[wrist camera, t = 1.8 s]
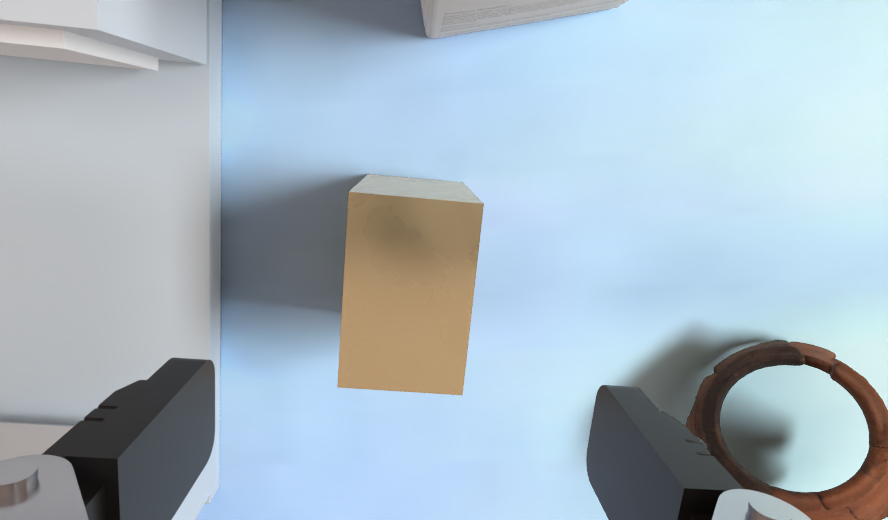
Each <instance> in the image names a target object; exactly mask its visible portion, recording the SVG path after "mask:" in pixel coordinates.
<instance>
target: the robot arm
mask: <svg viewBox="0 0 888 520" xmlns="http://www.w3.org/2000/svg"><path fill="white" fill-rule="evenodd" d="M214 438H215V367H214V364H213V362H212V360H206V359H190V358H174V357H173V358H170V359H169V360H168V361H167V362H166V363H165V364H164V365H163V366H162V367H160V368H159V369H158V370H157V371H156V372H155V373H154V374H153V375H152V376H151V377H150V378H149V379H147V380H138V381H136V382H134V383H132V384H129V385H127V386H125V387H123V388H121V389H118V390H116V391H114V392H113V393H112V394H111V395H110V396H109V397H107V398H106V399H105V400H104V401H103V402H102V403H101V404H99V405H98V408H95V409H94V410H92V411H91V412H90V413H89V414H88V415H87V416H85V417H84V421H80V422H78V423H77V424H76V425H75V426H74V427H73V428H71V429H70V430H69V431H68V432H67V433H66V434H65V435H63V436H62V437H61V438H60V439H59V440H58V441H56V442H55V443H54V444H53V445H52V446H51V447H49V448H48V449H47V450H46V451H45V452H44V453H42V454H41V455H40V454H39V455H27V456H19V457H15V458H10V459H6V460H3V461H0V520H172V518H173V517H174V515H175V514H176V512H177V510H178V509H179V507H180V506H181V504H182V503H183V501H184V499H185V498H186V496H187V495H188V493H189V491H190V490H191V488H192V487H193V485H194V483H195V482H196V480H197V479H198V477H199V475H200V474H201V472H202V471H203V469H204V467H205V466H206V464H207V462H208V460H209V458H210V455H211V452H212V448H213V444H214ZM587 472H588V477H589V481H590V483H591V485H592V487H593V489H594V491H595V493H596V495H597V497H598V499H599V501H600V503H601V505H602V507H603V509H604V511H605V513H606V515H607V517H608V519H609V520H811V519H810V518H809V517H807V516H806V515H805V514H804V513H803V512H801V511H800V510H798V509H797V508H795V507H794V506H792V505H790V504H788V503H786V502H784V501H782V500H780V499H778V498H776V497H773V496H771V495H768V494H765V493H761V492H757V491H753V490H747V489H743V487H742V486H741V485H740V484H739V483H738V482H737V481H736V480H735V479H734V478H733V477H732V476H731V475H730V473H729V472H728V471H727V470H726V469H725V468H724V467H723V466H722V465H721V464H720V463H719V462H718V460H717V459H716V458H715V457H714V456H710V452H709V451H708V450H707V449H706V448H705V446H704V445H703V444H702V443H699V440H698V439H697V438H696V437H695V436H694V435H693V434H692V432H691V431H690V430H689V429H688V428H687V427H686V426H685V425H684V424H682V423H681V422H679V421H677V420H676V419H674V418H673V417H671V416H669V415H668V414H666V413H665V412H660V411H659V410H658V409H657V408H656V407H655V405H654V404H653V403H652V402H651V401H650V400H649V399H648V398H647V396H646V395H645V394H644V393H643V392H642V391H641V390H640V389H639V388H638V387H625V386H609V385H602V386H601V387H600V388H599V390H598V392H597V395H596V401H595V407H594V413H593V419H592V425H591V431H590V437H589V443H588V449H587Z"/></svg>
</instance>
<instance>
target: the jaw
mask: <svg viewBox="0 0 888 520" xmlns="http://www.w3.org/2000/svg"><path fill="white" fill-rule="evenodd" d="M0 55H6V56H16V57H26V58H36V59H45V60H55V61H65V62H75V63H85V64H94V65H104V66H114V67H124V68H134V69H143V70H153V71H159V70H158V60H165V61H175V62H184V63H194V64H204V65H207V0H0Z"/></svg>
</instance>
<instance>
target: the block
mask: <svg viewBox="0 0 888 520" xmlns="http://www.w3.org/2000/svg"><path fill="white" fill-rule="evenodd" d="M483 206H484V204H483V202H482V201H481V200H480V199H479V198H478V197H477V196H476V195H475V194H474V193H473V192H472V191H471V190H470V189H469V188H468V187H467V186H466V185H465V184H464V183H462V182H451V181H440V180H429V179H418V178H407V177H397V176H386V175H375V174H368V175H367V176H366V177H364V178H363V179H362V180H361V181H360V182H359V183H358V184H357V185H355V186H354V187H353V188H352V189H351V190H350V191H349V193H348V210H347V228H346V246H345V263H344V281H343V299H342V316H341V334H340V352H339V370H338V387H341V388H357V389H372V390H388V391H404V392H420V393H435V394H451V395H462V394H463V385H464V376H465V367H466V358H467V349H468V340H469V331H470V322H471V313H472V305H473V296H474V287H475V278H476V269H477V260H478V251H479V242H480V233H481V224H482V215H483Z"/></svg>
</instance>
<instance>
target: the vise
mask: <svg viewBox="0 0 888 520" xmlns="http://www.w3.org/2000/svg"><path fill="white" fill-rule="evenodd" d="M158 70H159V71H153V70H143V69H134V68H124V67H114V66H104V65H94V64H85V63H75V62H65V61H55V60H45V59H36V58H26V57H16V56H6V55H0V461H3V460H6V459H10V458H15V457H19V456H27V455H39V454H40V455H41V454H42V453H44V452H45V451H46V450H47V449H48V448H49V447H51V446H52V445H53V444H54V443H55V442H56V441H58V440H59V439H60V438H61V437H62V436H63V435H65V434H66V433H67V432H68V431H69V430H70V429H71V428H73V427H74V426H75V425H76V424H77V423H78V422H80V421H84V417H85V416H87V415H88V414H89V413H90V412H91V411H92V410H94V409H95V408H98V405H99V404H101V403H102V402H103V401H104V400H105V399H106V398H107V397H109V396H110V395H111V394H112V393H113V392H114V391H116V390H118V389H121V388H123V387H125V386H127V385H129V384H132V383H134V382H136V381H138V380H147V379H149V378H150V377H151V376H152V375H153V374H154V373H155V372H156V371H157V370H158V369H159V368H160V367H162V366H163V365H164V364H165V363H166V362H167V361H168V360H169V359H170V358H173V357H174V358H190V359H206V360H212V362H213V364H214V367H215V438H214V444H213V448H212V452H211V455H210V458H209V460H208V462H207V464H206V466H205V467H204V469H203V471H202V472H201V474H200V475H199V477H198V479H197V480H196V482H195V483H194V485H193V487H192V488H191V490H190V491H189V493H188V495H187V496H186V498H185V499H184V501H183V503H182V504H181V506H180V507H179V509H178V510H177V512H176V514H175V515H174V517H173V518H172V520H195V519H196V518H197V516H198V514H199V512H200V511H201V509H202V507H203V505H204V504H209V503H210V502H211V500H212V498H213V496H214V494H215V493H216V491H217V489H218V487H219V485H220V309H221V107H222V0H207V65H204V64H194V63H184V62H175V61H165V60H158Z"/></svg>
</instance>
